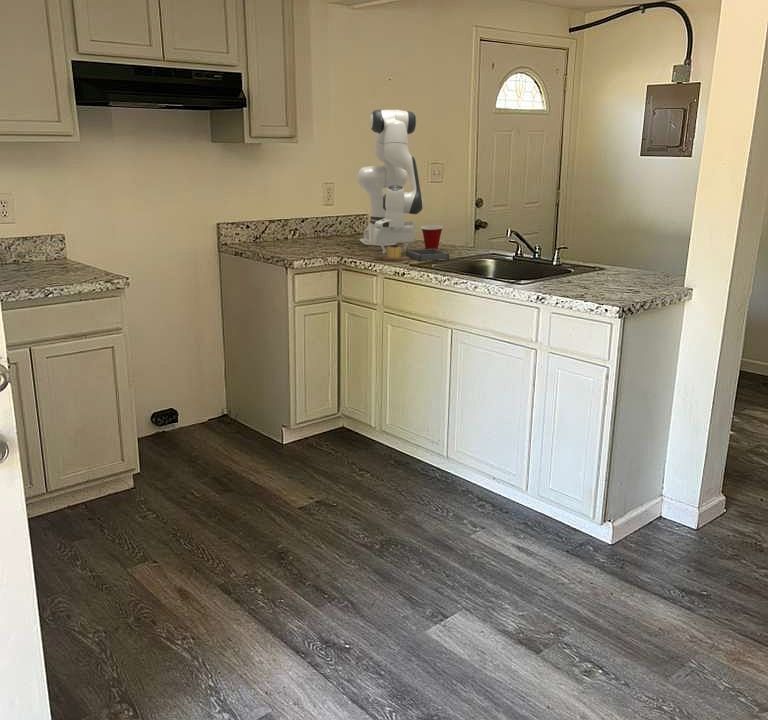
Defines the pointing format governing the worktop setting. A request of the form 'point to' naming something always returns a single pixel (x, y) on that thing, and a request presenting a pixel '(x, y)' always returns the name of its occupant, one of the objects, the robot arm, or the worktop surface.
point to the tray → (426, 254)
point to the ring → (394, 252)
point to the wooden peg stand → (393, 258)
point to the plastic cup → (431, 236)
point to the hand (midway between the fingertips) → (394, 252)
